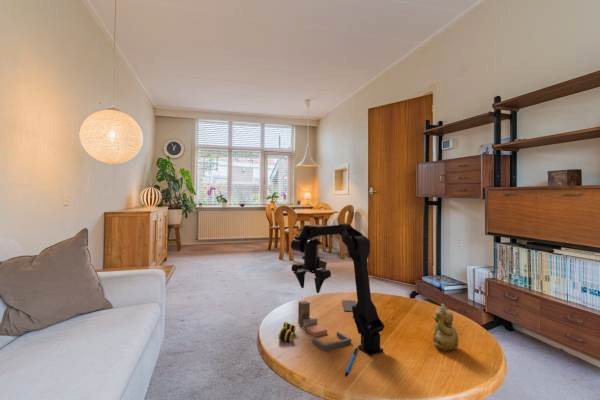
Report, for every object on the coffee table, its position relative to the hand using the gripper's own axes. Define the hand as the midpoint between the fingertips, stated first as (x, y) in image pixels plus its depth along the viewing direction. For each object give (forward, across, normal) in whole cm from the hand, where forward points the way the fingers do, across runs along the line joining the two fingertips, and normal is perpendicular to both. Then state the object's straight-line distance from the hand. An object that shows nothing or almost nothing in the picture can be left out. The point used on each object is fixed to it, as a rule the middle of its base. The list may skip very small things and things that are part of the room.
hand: (310, 290), depth 130 cm
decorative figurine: (+13, -49, -20) cm, 55 cm away
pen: (+14, -32, +13) cm, 37 cm away
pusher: (+14, -1, +3) cm, 14 cm away
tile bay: (+13, -19, +7) cm, 24 cm away
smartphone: (+14, 0, -29) cm, 33 cm away
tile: (+14, -9, +5) cm, 17 cm away
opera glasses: (+14, -4, +16) cm, 22 cm away
